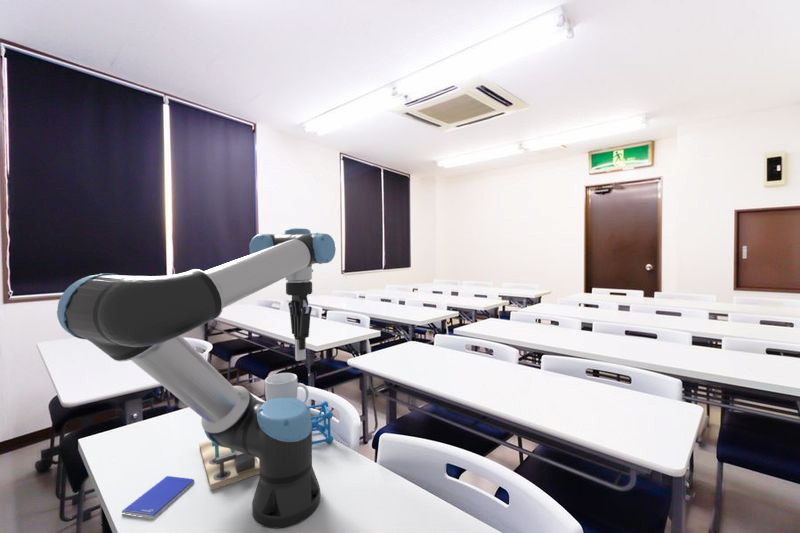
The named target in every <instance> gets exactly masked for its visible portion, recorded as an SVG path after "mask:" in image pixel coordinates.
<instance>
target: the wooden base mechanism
mask: <svg viewBox="0 0 800 533" xmlns="http://www.w3.org/2000/svg"><path fill="white" fill-rule="evenodd" d="M198 444H199V445H198V446H199V451H200V452H199V453H200V455H201V458H202V463H203V467H204V471H205V474H206V475H205V476H206V478H207V479H206V480H207V482H208V485H209V490H210V491H213V490H217V489H220V488H222V487H225V486H228V485H231V484H233V483H236V482H239V481H242V480H244V479H247V478H250V477H253V476H257V475H260V467H259V460H258V459H257V457H254V456H251V455H249V454H245V453H242V452H239V451H236V450H234V452H233V453H231V450H230V448H225V447H221V446H219V457H217V458H216V460H215V446H213V447H212V441H211V440H210V439H208V440H206V441H203V442H199V443H198Z"/></svg>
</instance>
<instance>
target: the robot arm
mask: <svg viewBox="0 0 800 533" xmlns="http://www.w3.org/2000/svg"><path fill="white" fill-rule="evenodd" d="M335 243H336V242H335V240H334V239H333V237H332V235H330V234H328V233H320V232H315V233H311V230H309V229H308V228H297V227H296V228H293V227H292V228H286V229H285V230H284V234H283V233H280V234H273V233H272V234H270V233H258V234H256V235H255V236H253V237H252V238H251V240H250V242H249V255H246V256H243V257H240V258H237V259H234V260H231V261H229V262H226V263H223V264H221V265H218V266H214V267H212V268H209V269H207V270H202V269H197V268H194V269H190V270H187V271H184V272H180V273H175V274H169V275H155V276H154V275H152V276H150V275H149V276H148V275H124V274H123V275H121V274H117V273H107V272H106V273H99V274H94V275H88V276H85V277H82V278H80V279H78V280H76V281H75V282H74V283H72V284H70V285H69V286H68V287H67V288H66V289H65V290H64V292H63V293H62V295H60V299H59V301H58V303H57V311H56V314H57V320H58V322H59V324H60V326H61V327H62V328H63V330H64V331H65V332H67V333H69V334H70V335H71V336H73V337H75V338H77V339H82V340H87V341H88V342H91V344H93V345H94V346H95V347H97V348H98V349H99V350H100V351H102V353H105V354H106V355H107V356H109V357H110V358H111V359H112V360H113V361H116V362H126V361H127V362H128V361H131V362H133V363H134V364H135V365H136V366H137V367H138V368H140V369H141V370H142V371H144V372H145V373H146V374H147V375H149V376H150V377H151V378H152V379H154V380H155V381H156V382H157V383H159V384H160V385H161V386H162V387H163V388H165V389H166V390H168V392H170V393H171V394H172V395H173V396H175V397H176V398H177V399H178V400H180V401H181V402H182V403H184V405H186V406H187V407H189V409H191V410H192V411H193V412H195V413H196V414H197V415H199V416H200V417H201V423H200V424H201V426H202V429H203V430H204V433H205V435H206V437H207V439H208V440H211V441H212V442H213V443H215V444H216V445H218V446H221V447H225V448H230V449H233V450H236V451H239V452H242V453H245V454H249V455H251V456H254V457H256V459H257V458H258V462H259V467H260V473H259V479H258V481H257V484H256V488H255V490H254V494H253V498H252V503H251V508H252V518H253V519H254V521H255V522H256V523H258V524H259V525H260V526H263V527H264V528H270V529H282V528H283V529H284V528H289V527H292V526H296V525H297V524H300V523H301V522H304V521H305V520H306V519H308V518H309V517H311V516H312V515H313V514H314V513H315V511H316V510H317V508H319V505H320V503H321V502H320V501H321V487H320V484H319V480H318V478H317V475H316V473H315V470H314V467H313V444H312V442H313V440H312V439H313V436H312V435H313V434H312V433H313V431H312V420H313V419H312V420H311V417H312V415H311V410H310V409H311V408H310V409H309V407H308V406H309V405H307V403H306V402H305V403H304V402H302V401H303V400H301V399H298V398H297V399H295V398H288V397H286V398H275V399H271V400H269V401H267V402H266V401H262V400H259V399H257V398H256V397H255V396H254V395H253V394H252V393H251V392H250V391H249V390H248V389H247V388H245V387H244V386H242V385H233V384H231V383H230V382H229V381H228V379H226V378H225V377H224V376H223V375H222V374H221V373H220V371H219V370H217V368H215V367H214V366H213V365H212V364H211V363H210V362H209V361H208V360H207V359H206V358H205V357H204V356H202V354H201V353H200V352H199V351H198V350H197V349H196V348H194V347H193V346H192V345H191V344H190V342H188V340H186V339H185V338H184V337H183V335H185V334H187V333H189V332H191V331H193V330H195V329H197V328H199V327H202V326H204V325H205V324H207V323H209V322H211V321H213V320H215V319H217V318H219V317H220V316H221V314H222V313H223V309H224V308H226V307H228V306H231V305H232V304H235V303H237V302H238V301H240V300H241V301H242V300H243V299H244V298H247V297H249V296H250V295H253V294H256V293H257V292H259V291H262V290H263V289H266V288H267V287H269V286H271V285H273V284H275V283H277V282H280V280H283V279H285V281H287V282H286V283H285V294H286V295H288V296H291V300H290V302H287V303H288V310H289V316H290V328H291V335H293V337H294V355H295V356H294V357H295V359H294V360H295V361H297V362H299V361H304V360H306V359H307V352H306V351H307V349H306V348H307V346H306V345H307V344H306V342H307V340H306V339H307V338H309V336H310V325H311V324H310V323H311V313H312V309H313V308H312V306H309V300H308V295H311V294H312V293H313V282H312V281H311V280H312V279H313V272H314V269H313V267H312V266H313V265H314V264H319V265H322V264H328V263H330V262H332V261H333V260H334V257H335V255H336V244H335Z"/></svg>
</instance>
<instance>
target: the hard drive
mask: <svg viewBox="0 0 800 533" xmlns="http://www.w3.org/2000/svg"><path fill="white" fill-rule="evenodd" d="M194 483H195V479H194V478H188V477H178V476H172V475H167V476H165V477H164V478H162V479H161V480H160V481H159V482H158V483H156V484H155V485H153V486H152V487H151V488H150V489H149V490H147V491H146V492H144V493H143V494H142V495H141V496H139V497H138V498H137V499H135V500H134V501H132V502H131V503H130V504H129V505H127V506H126V507H125V508H124V509H122V510H121V514H122V513H125V514H131V515H136V516H142V517H147V518H146V519H149V518H152V519H151V520H153V519H155V518H156V517H157V516H159V515H160V514H161V513H162V512H163V511H164V510H165V509H167V508H168V507H169V506H170V505H171V504H172V503H173V502H175V501H176V499H177V498H179V497H180V496H182V494H183V493H185V492H186V491H187V490H189V488H190V487H192V485H193V484H194ZM142 517H141V518H142Z"/></svg>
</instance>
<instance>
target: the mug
mask: <svg viewBox="0 0 800 533" xmlns="http://www.w3.org/2000/svg"><path fill="white" fill-rule="evenodd" d="M300 387H302V388H303V389H304V391H305V398H304V399H303V400H301V401H302V402H304V403H305V404H306V402H308V400H309V396H310V394H309V389H308V387H307V385H305V384H304V383H301V382H298V376H297V374H295V373H292V372H280V373H275V374H272V375H269V376H267V377H266V378H265V379H264V388H265V394H264V395H265V402H267V401H269V400H271V399H275V398H286V397H288V398H295V399H298V388H300Z"/></svg>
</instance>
